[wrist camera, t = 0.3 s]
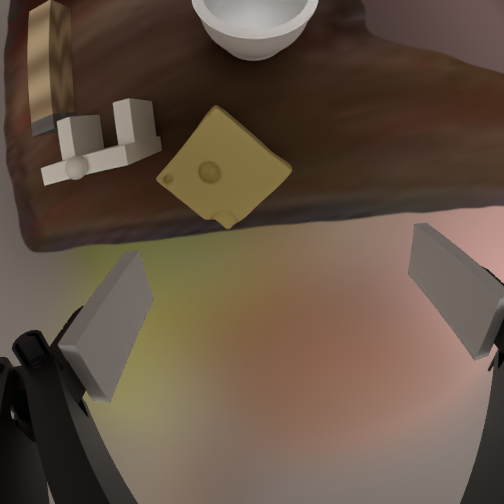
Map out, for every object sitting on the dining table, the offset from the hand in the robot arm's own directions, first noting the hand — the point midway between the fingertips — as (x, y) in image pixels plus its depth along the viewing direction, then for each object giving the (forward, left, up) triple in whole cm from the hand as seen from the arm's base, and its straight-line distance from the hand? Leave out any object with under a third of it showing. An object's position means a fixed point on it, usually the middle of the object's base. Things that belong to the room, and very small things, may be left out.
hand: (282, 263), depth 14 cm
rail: (-20, -27, -27) cm, 44 cm away
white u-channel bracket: (-6, -18, -27) cm, 33 cm away
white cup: (-18, +1, -27) cm, 33 cm away
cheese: (-1, -4, -28) cm, 28 cm away
